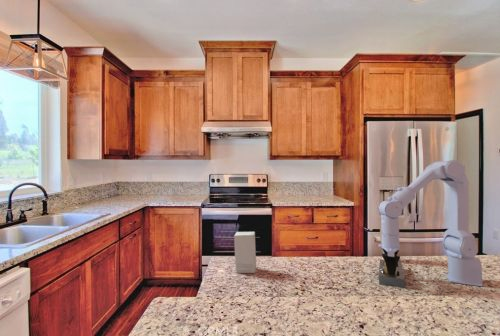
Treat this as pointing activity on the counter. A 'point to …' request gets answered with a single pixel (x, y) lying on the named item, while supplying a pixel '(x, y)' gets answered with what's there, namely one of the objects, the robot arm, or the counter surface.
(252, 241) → the skincare box
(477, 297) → the counter surface
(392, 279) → the grey piece
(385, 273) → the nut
